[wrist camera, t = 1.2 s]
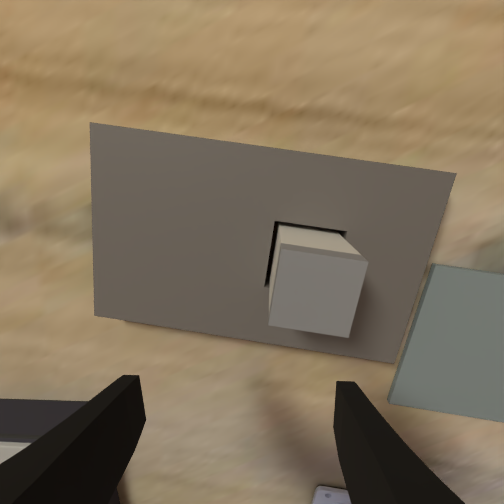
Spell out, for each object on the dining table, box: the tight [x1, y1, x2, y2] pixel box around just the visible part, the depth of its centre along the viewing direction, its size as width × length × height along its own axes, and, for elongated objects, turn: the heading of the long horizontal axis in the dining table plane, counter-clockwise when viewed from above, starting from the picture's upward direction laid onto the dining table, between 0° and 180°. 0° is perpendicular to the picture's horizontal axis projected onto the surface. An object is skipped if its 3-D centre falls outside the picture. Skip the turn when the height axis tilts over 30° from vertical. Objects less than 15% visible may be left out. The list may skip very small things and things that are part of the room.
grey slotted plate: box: [90, 122, 457, 364], centre depth 18 cm, size 20×12×2 cm, turn 82°
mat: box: [387, 263, 504, 422], centre depth 20 cm, size 11×11×1 cm
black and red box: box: [0, 399, 120, 504], centre depth 25 cm, size 11×4×15 cm
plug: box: [268, 221, 368, 338], centre depth 16 cm, size 4×4×7 cm
